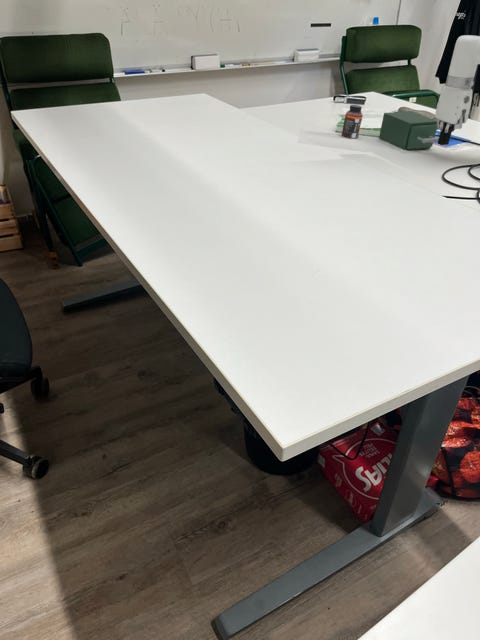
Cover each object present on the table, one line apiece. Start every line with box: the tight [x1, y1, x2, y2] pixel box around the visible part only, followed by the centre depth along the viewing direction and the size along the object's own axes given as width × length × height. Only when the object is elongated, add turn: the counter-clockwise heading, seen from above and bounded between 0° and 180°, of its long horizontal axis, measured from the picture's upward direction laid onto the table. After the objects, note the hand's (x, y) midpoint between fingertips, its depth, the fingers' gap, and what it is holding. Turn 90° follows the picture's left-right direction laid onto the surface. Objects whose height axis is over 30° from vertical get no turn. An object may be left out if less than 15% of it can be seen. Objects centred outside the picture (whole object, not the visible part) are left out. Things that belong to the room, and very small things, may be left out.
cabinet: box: [378, 110, 438, 151], centre depth 170 cm, size 15×12×9 cm
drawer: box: [406, 123, 439, 149], centre depth 167 cm, size 18×10×7 cm, turn 23°
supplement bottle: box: [341, 104, 363, 140], centre depth 171 cm, size 6×6×11 cm
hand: (442, 143), depth 157 cm, fingers closed
